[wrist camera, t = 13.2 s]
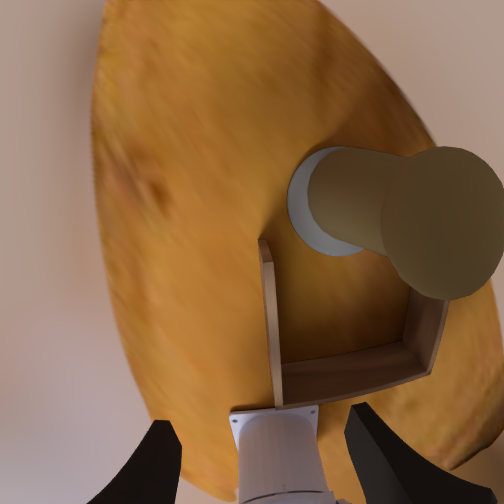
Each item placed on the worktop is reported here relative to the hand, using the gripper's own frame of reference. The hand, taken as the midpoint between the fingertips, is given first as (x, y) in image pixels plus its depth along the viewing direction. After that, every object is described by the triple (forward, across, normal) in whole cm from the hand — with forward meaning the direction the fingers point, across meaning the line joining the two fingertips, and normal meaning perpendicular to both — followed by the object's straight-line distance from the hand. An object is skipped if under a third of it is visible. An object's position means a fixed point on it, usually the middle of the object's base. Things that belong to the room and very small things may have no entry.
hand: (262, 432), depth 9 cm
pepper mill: (+10, -7, -7) cm, 14 cm away
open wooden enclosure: (+10, -7, 0) cm, 12 cm away
